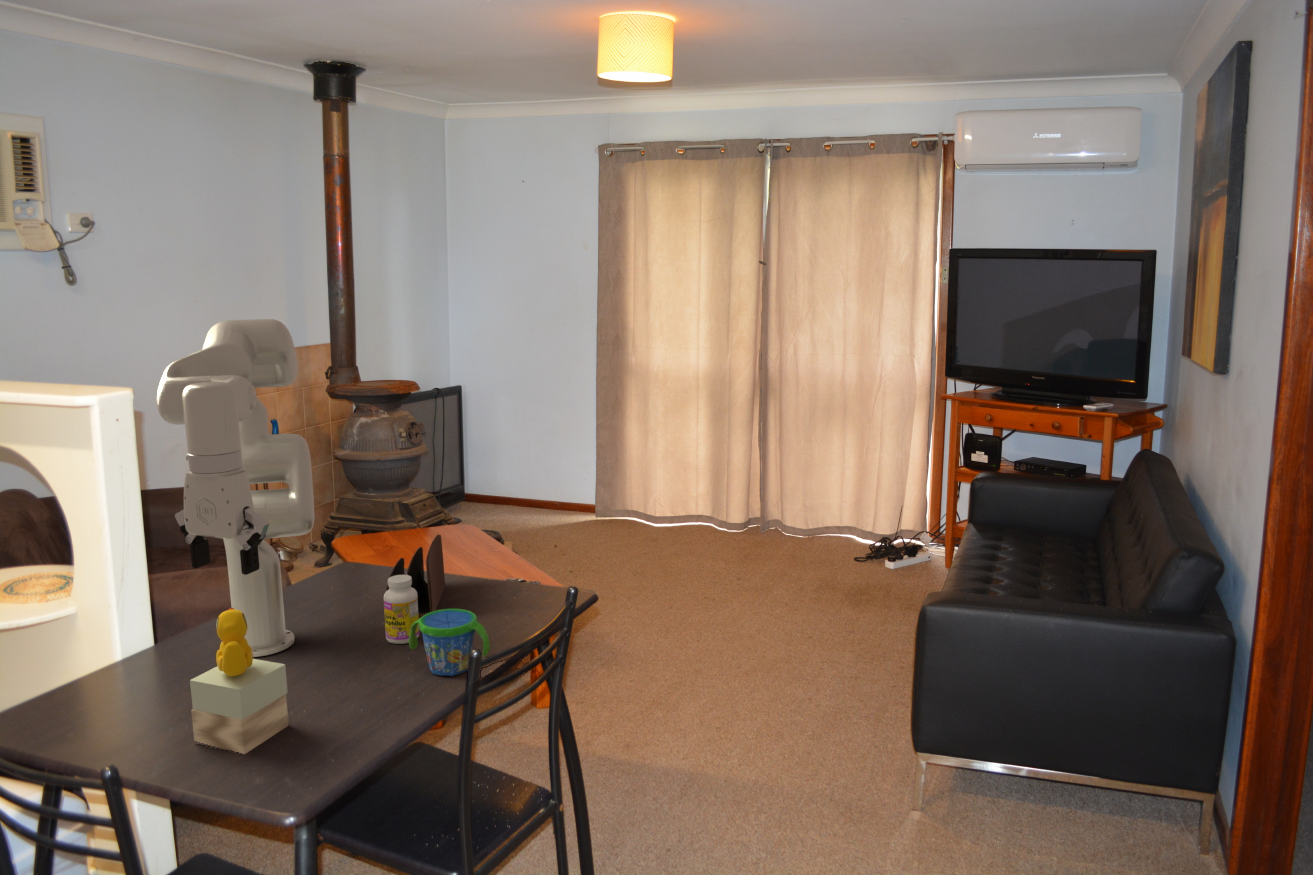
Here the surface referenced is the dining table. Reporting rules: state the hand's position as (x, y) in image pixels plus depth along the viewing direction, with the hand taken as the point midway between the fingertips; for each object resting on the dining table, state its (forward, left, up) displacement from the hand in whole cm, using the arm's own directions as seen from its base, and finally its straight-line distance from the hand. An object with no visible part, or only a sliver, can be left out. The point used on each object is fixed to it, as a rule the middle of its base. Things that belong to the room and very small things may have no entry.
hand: (225, 568), depth 152 cm
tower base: (0, 0, -28) cm, 28 cm away
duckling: (0, 0, -18) cm, 18 cm away
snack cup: (+19, +33, -28) cm, 48 cm away
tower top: (0, 0, -22) cm, 22 cm away
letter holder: (-7, +62, -29) cm, 69 cm away
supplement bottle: (+2, +43, -28) cm, 52 cm away
